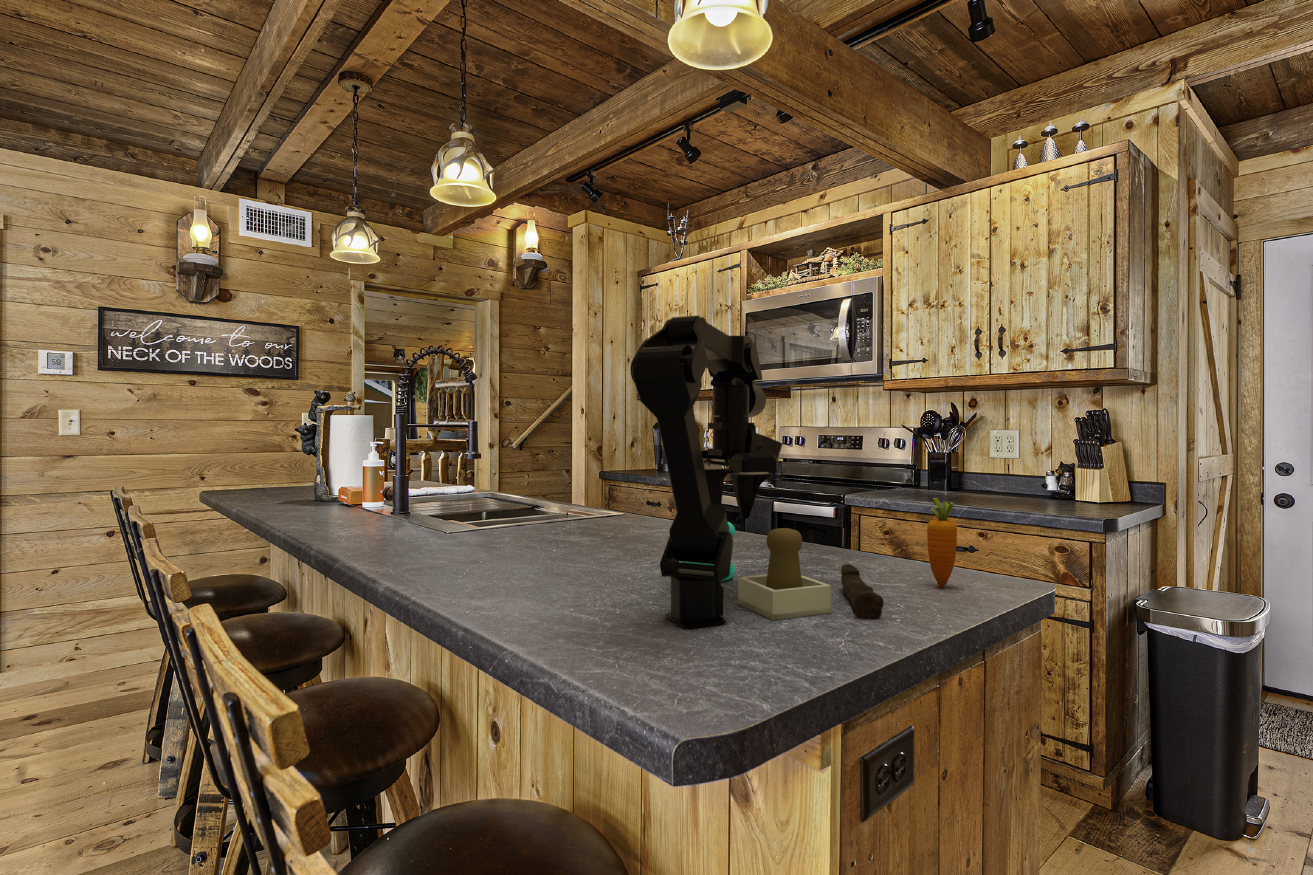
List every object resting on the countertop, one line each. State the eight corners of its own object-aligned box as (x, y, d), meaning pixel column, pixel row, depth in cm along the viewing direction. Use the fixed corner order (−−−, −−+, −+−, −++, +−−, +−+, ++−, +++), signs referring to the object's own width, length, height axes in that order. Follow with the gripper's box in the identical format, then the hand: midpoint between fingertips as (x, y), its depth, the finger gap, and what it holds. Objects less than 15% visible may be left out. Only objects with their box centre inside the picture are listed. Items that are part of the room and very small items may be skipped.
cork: (759, 605, 99) (759, 530, 99) (768, 596, 105) (768, 525, 105) (801, 609, 97) (801, 533, 97) (808, 599, 103) (808, 527, 103)
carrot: (962, 590, 112) (963, 500, 112) (932, 590, 112) (933, 499, 112) (950, 584, 117) (950, 496, 117) (921, 583, 117) (921, 496, 117)
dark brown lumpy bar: (883, 621, 95) (884, 588, 95) (854, 620, 96) (854, 587, 96) (862, 590, 114) (862, 562, 114) (837, 589, 114) (838, 561, 114)
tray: (773, 620, 95) (773, 591, 95) (738, 603, 104) (738, 577, 104) (831, 612, 98) (831, 585, 98) (792, 597, 107) (792, 572, 107)
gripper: (808, 415, 102) (808, 519, 102) (745, 417, 119) (744, 506, 119) (743, 415, 98) (743, 523, 98) (687, 417, 115) (687, 509, 115)
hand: (730, 515), depth 108 cm, fingers open, 9 cm apart
